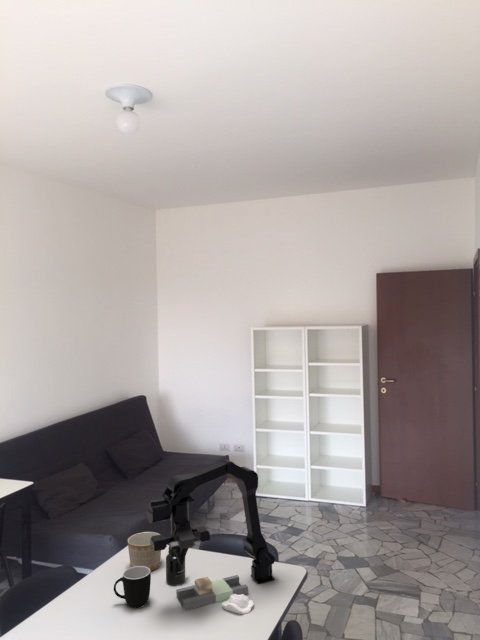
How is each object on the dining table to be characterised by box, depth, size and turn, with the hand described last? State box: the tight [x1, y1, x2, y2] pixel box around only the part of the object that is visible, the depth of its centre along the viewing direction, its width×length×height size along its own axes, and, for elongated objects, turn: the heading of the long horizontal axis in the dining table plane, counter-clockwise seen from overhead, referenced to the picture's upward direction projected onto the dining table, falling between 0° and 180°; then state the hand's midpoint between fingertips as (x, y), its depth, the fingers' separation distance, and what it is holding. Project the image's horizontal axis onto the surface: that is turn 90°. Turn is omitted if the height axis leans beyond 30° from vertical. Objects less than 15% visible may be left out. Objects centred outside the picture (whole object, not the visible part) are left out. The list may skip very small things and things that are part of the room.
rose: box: [221, 594, 255, 615], centre depth 168 cm, size 10×4×10 cm
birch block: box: [194, 576, 212, 595], centre depth 175 cm, size 4×4×3 cm
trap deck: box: [175, 574, 249, 611], centre depth 176 cm, size 22×9×2 cm, turn 114°
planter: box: [127, 531, 162, 572], centre depth 198 cm, size 13×13×10 cm
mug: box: [113, 566, 152, 609], centre depth 172 cm, size 12×9×10 cm
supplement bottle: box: [165, 545, 186, 586], centre depth 186 cm, size 7×7×12 cm
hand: (181, 564), depth 172 cm, fingers closed
